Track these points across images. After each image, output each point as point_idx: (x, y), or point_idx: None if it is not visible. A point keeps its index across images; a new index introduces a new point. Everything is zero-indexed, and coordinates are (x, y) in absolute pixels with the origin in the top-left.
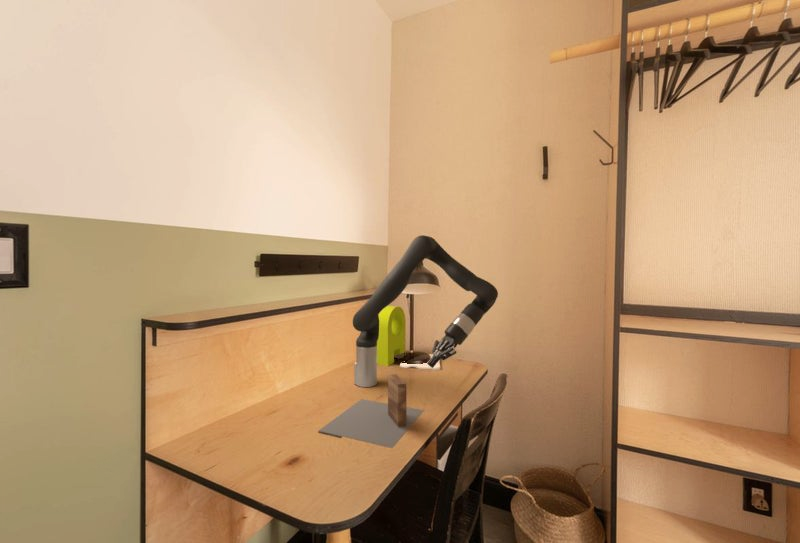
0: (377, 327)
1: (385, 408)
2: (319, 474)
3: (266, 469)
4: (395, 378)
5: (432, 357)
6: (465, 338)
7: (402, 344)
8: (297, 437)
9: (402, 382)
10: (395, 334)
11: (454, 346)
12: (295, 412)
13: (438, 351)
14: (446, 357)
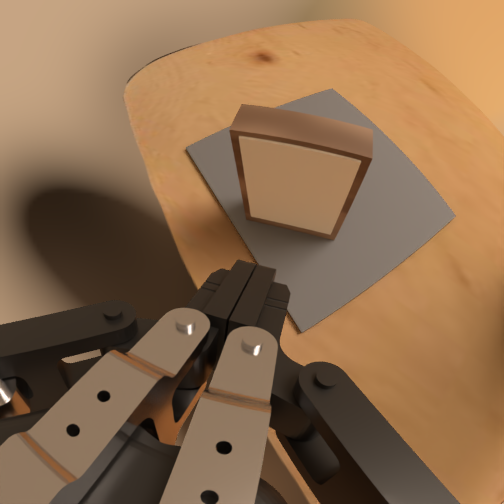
0: None
1: (378, 233)
2: (212, 68)
3: (264, 43)
4: (316, 127)
5: (243, 302)
6: None
7: None
8: (328, 71)
9: (251, 123)
10: None
11: None
12: (423, 101)
13: (173, 364)
14: (80, 362)
